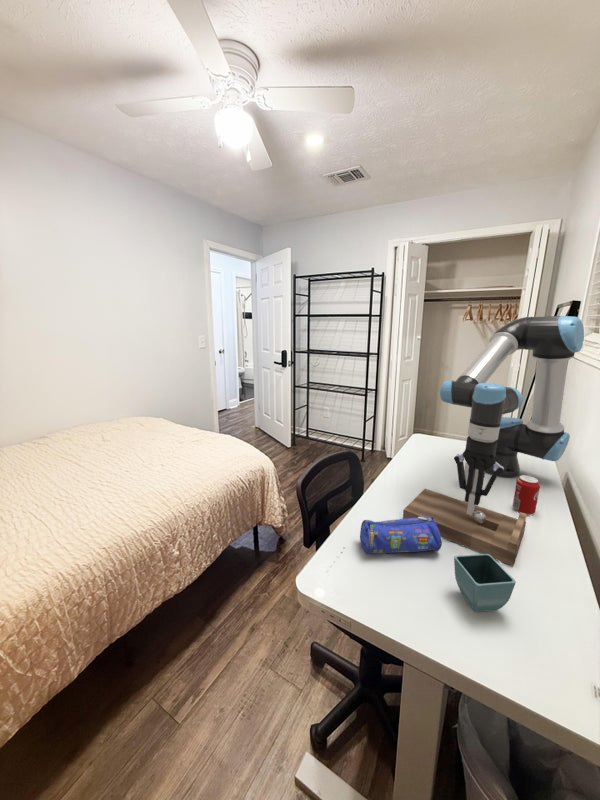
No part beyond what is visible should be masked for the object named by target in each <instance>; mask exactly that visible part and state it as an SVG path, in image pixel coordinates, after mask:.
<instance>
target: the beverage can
mask: <svg viewBox="0 0 600 800" xmlns="http://www.w3.org/2000/svg"><path fill="white" fill-rule="evenodd" d="M540 487H541V484H540V483H539V480H538V478H536V477H533V476H531V475H519V477H518V478H517V479H516V482H515V489H514V496H513V500H512V509H513V510H514V511H515V512H516V513H517V514H518V515H520V512H521V513H525V514H526V517H528V516H532V515H534V514H536V512H537V511H536V510H537V504H538V499H539V494H540Z"/></svg>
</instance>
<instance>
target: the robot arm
mask: <svg viewBox="0 0 600 800" xmlns="http://www.w3.org/2000/svg"><path fill="white" fill-rule="evenodd" d="M584 339H585V329H584V324H583V321H582V320H581V319H580V318H579V317H577V316H570V315H569V316H568V315H567V316H566V315H555V316H549V315H548V316H547V315H546V316H524V317H521V318H518V319H514V320H512V321H510V322H509V323H506V324H505V325H502V326H501V327H500V328H499V329H497V330H496V331H495V332H494V333H493V334H492V335H491V337H489V341H488V344H487V345H486V346H485V348H484V349H483V350H482V351H481V352H480V353H479V354H478V355H477V356H476V358H475V359H473V360H472V362H471V363H470V365H469V366H468V367H467V368H466V369H465V370H464V371H463V372H462V373H461V375H460V376H458V378H457V379H456V380H445V381H443V383H442V384H441V386H440V389H439V396H440V400H441V401H442V402H443V403H447V404H449V405H454V406H460V407H467V408H471V410H470V417H469V422H468V429H467V435H468V436H467V437H466V443H465V450H464V451H463V452H462V453H461V454H456V455H455V456H454V457H453V460H454V462H455V463H456V469H457V475H458V484H459V489H461V490H463V491H465V496H464V502H467V503H468V508H467V514H469V515H471V516H472V514H473V513H474V509H475V505H476V506H479V505H480V503H481V498H482V497H481V496H484V497H488V495H489V493H490V491H491V489H492V487H493V485H494V484H495V482H496V480H497V478H498V477H500V478H509V479H510V478H511V479H512V478H517V477H520V472H521V468H520V464H519V460H518V459H519V458H518V453H520V454H522V455H523V454H524V455H527V456H531V457H535V458H539V459H541V460H546V461H550V462H557V461H559V460H560V459H561V458H562V456H563V455H564V453H565V451H566V449H567V446H568V444H569V441H570V433H567V432H565V425H563V423H561V415H562V408H563V401H564V395H565V393H564V392H565V385H566V380H567V379H566V378H567V370H568V363H569V361H570V360H571V359H572V358H574V357H575V354H576V353H578V352H580V351H581V350H582V349H583V344H584ZM519 350H525V351H527V350H528V351H529V350H530V351H532V357H533V358H534V360H536V368H535V378H534V379H535V380H534V389H533V397H532V408H531V409H532V410H531V419H529V420H528V421H526V424H524V421H523V419H522V418H519V417H511V416H505V417H504V416H503V415H507V414H510V413H514V412H515V411H516V410H518V409H519V408H520V407H521V406H522V403H523V394H522V393H521V392H520V390H519V389H517V388H514V387H512V386H504V385H502V384H497V383H490V382H489V383H488V380H489V379H490V378H491V377H492V375H493V374H494V373H495V372H496V371H497V369H498V368H499V367H500V366H501V365H502V363H503V362H504V361H505V360H506V359H507V357H508V356H509V355H513V354H514V353H515V352H516V351H519ZM464 462H465V463H466V462H467V464H468V466H469V473H468V479H467V484H466V479H465V465H464ZM475 469H478V470H479V471H478V479H477V485H476V492H475V491H472V489H473V482H474V475H475ZM486 474H488V475H491V476H490V478H489V480H488V482H487V484H486V485H485V487H484V481H485V478H484V476H485V477H486ZM483 487H484V489H483Z"/></svg>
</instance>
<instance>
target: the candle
mask: <svg viewBox="0 0 600 800" xmlns="http://www.w3.org/2000/svg"><path fill="white" fill-rule="evenodd" d="M464 471H465V479H466V484H467V479H468V473H469V466H468V464H467V462H466V461H465V465H464ZM478 471H479V470H478V469H475V475H474V482H473V489H472V491H475V492H476V485H477V479H478ZM485 477H486V475H485V476H484V479H485Z"/></svg>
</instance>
